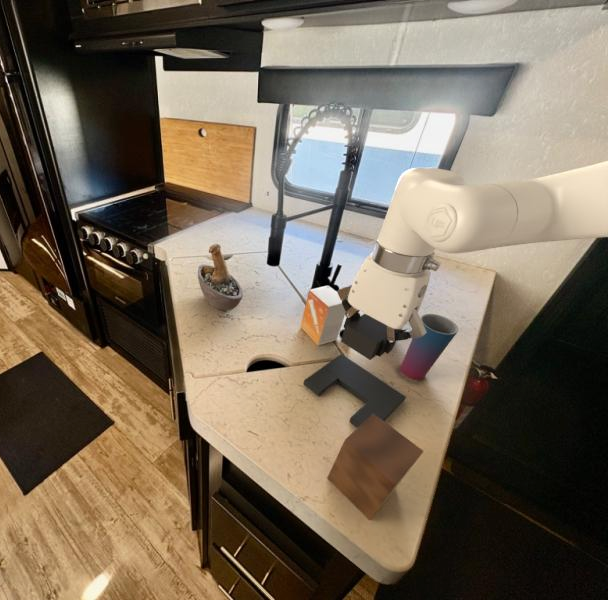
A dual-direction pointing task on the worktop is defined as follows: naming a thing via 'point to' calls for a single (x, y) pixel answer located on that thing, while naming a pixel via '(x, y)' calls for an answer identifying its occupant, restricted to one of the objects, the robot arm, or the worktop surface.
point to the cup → (428, 346)
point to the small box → (323, 315)
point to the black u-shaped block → (357, 388)
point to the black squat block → (365, 335)
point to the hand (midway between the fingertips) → (365, 341)
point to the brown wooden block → (372, 464)
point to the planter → (219, 282)
